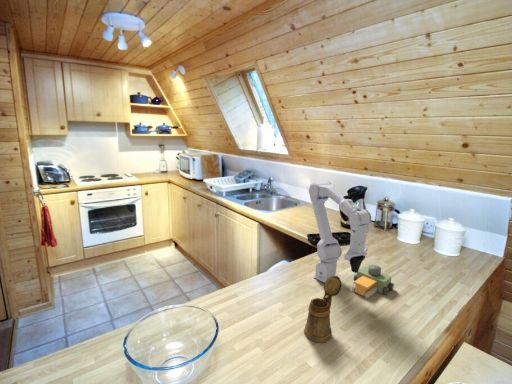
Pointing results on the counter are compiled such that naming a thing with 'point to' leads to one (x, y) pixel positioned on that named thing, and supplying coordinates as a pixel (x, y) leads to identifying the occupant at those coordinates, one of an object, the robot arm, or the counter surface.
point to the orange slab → (364, 285)
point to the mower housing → (375, 274)
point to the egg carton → (343, 235)
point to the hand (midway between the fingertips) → (354, 271)
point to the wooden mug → (322, 312)
